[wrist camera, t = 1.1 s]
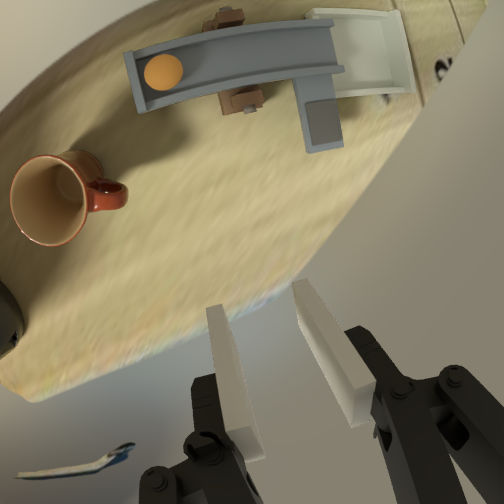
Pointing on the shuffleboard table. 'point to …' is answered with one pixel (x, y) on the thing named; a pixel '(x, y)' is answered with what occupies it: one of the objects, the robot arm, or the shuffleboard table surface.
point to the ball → (163, 72)
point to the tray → (369, 51)
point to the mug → (61, 195)
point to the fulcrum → (238, 97)
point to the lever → (253, 70)
